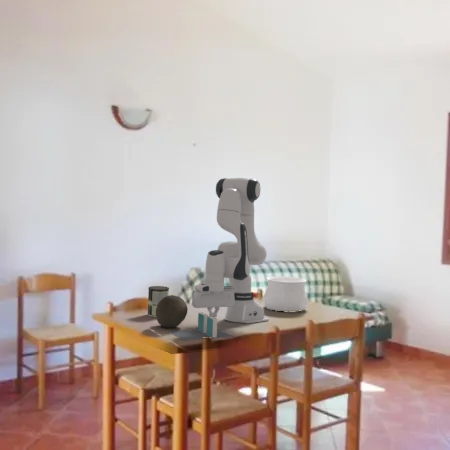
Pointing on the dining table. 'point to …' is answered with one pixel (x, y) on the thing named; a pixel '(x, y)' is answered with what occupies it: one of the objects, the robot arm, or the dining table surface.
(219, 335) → the mat
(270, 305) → the pot
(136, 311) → the dining table surface
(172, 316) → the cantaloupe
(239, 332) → the dining table surface
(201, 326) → the tile
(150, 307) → the coffee can
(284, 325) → the dining table surface
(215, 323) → the tile
